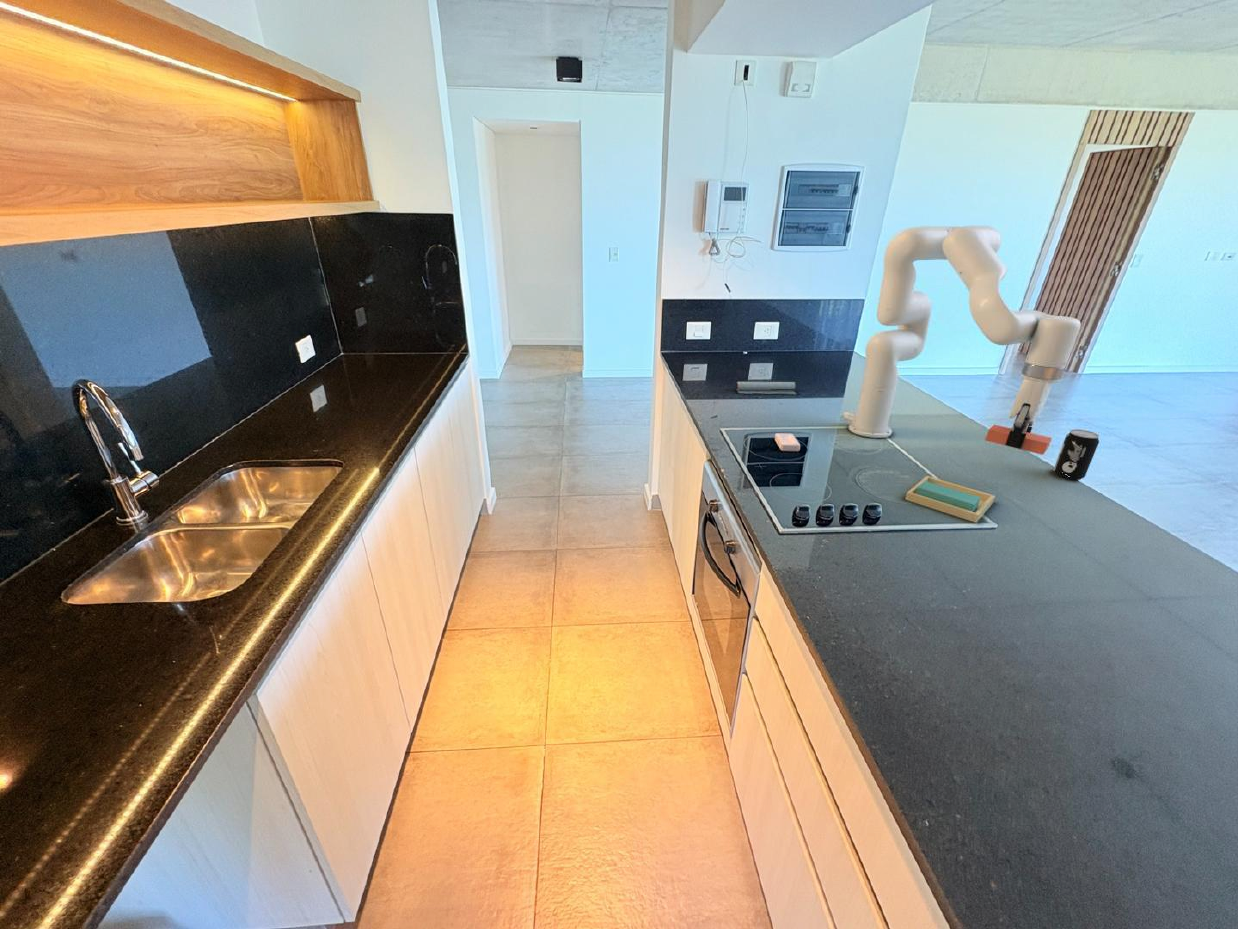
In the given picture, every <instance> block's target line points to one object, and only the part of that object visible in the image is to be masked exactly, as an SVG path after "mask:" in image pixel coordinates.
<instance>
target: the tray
mask: <svg viewBox="0 0 1238 929" xmlns="http://www.w3.org/2000/svg"><path fill="white" fill-rule="evenodd" d="M924 481H928V482H931V483H934V484H938V485H941V486H944V487H948V488H951V489H954V490H958V491H961V492H964V493H968V494H971V495H975V496H978V497H981V499H980V502H979V505H978V508H977V509H976V511H975V512H972V511H969V510H966V509H962V508H959V507H956V506H953V505H950V504H947V503H944V502H940V501H937V500H934V499H931V498H928V497H925V496H922V495H918V494H916V491H917V487H918V486H919V485H921V484H922V483H923V482H924ZM995 497H996V496H995V495H994V494H990V493H987V492H983V491H981V490H976V489H973V488H970V487H966V486H963V485H959V484H956V483H954V482H953V483H952V482H949V481H946V480H942V479H939V478H935V477H932V476H929V475H926V476H924V478H922V479H921V480H920V481H918V482H917V483H916V484H915V485H914V486H913V487H912V488H911V489H909V490H908V491H907V492H906V494H905V499H904V500H906V501H908V502H912V503H914V504H918V505H921V506H924V507H927V508H930V509H933V510H935V511H939V512H942V513H945V514H948V515H950V516H953V517H957V518H959V519H963V520H966V521H969V522H972V523H975V524H976V523H978V521H979V520H980V519H981V518H982V517H983V515H985V513H986V512H987V511H988V510H989V508H990V507H991V506H992V505H993V503H994V501H995Z"/></svg>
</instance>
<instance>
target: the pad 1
mask: <svg viewBox="0 0 1238 929" xmlns="http://www.w3.org/2000/svg"><path fill="white" fill-rule="evenodd" d="M916 494H918V495H922V496H925V497H928V498H931V499H934V500H937V501H940V502H944V503H947V504H950V505H953V506H956V507H959V508H962V509H966V510H969V511H972V512H975V511H976V509H977V508H978V505H979V502H980V499H981V497H978V496H975V495H971V494H968V493H964V492H961V491H958V490H954V489H951V488H948V487H944V486H941V485H938V484H934V483H931V482H928V481H924V482H923V483H922V484H921V485H919V486H918V487H917V491H916Z"/></svg>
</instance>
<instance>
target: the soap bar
mask: <svg viewBox="0 0 1238 929" xmlns="http://www.w3.org/2000/svg"><path fill="white" fill-rule="evenodd" d="M774 441H775V443H776V444H777V446H778V447H779V450H780V451H781V452H799V451H800V450H801V444H800V442H799V440H797V438H796V436H795V435H794V434H793V433H780V432H779V433H777V432H776V433H775V434H774Z"/></svg>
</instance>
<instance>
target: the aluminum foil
mask: <svg viewBox="0 0 1238 929" xmlns="http://www.w3.org/2000/svg"><path fill="white" fill-rule="evenodd" d="M736 387H737V388H738V389H737V388H736ZM735 389H736V391H737V393H738V394H746V395H747V394H750V395H751V394H763V395H765V394H767V395H768V394H769V395H770V394H782V395H797V392H796V391H795V390H796V382H795V381H737V382H736V385H735ZM771 389H795V390H771Z"/></svg>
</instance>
